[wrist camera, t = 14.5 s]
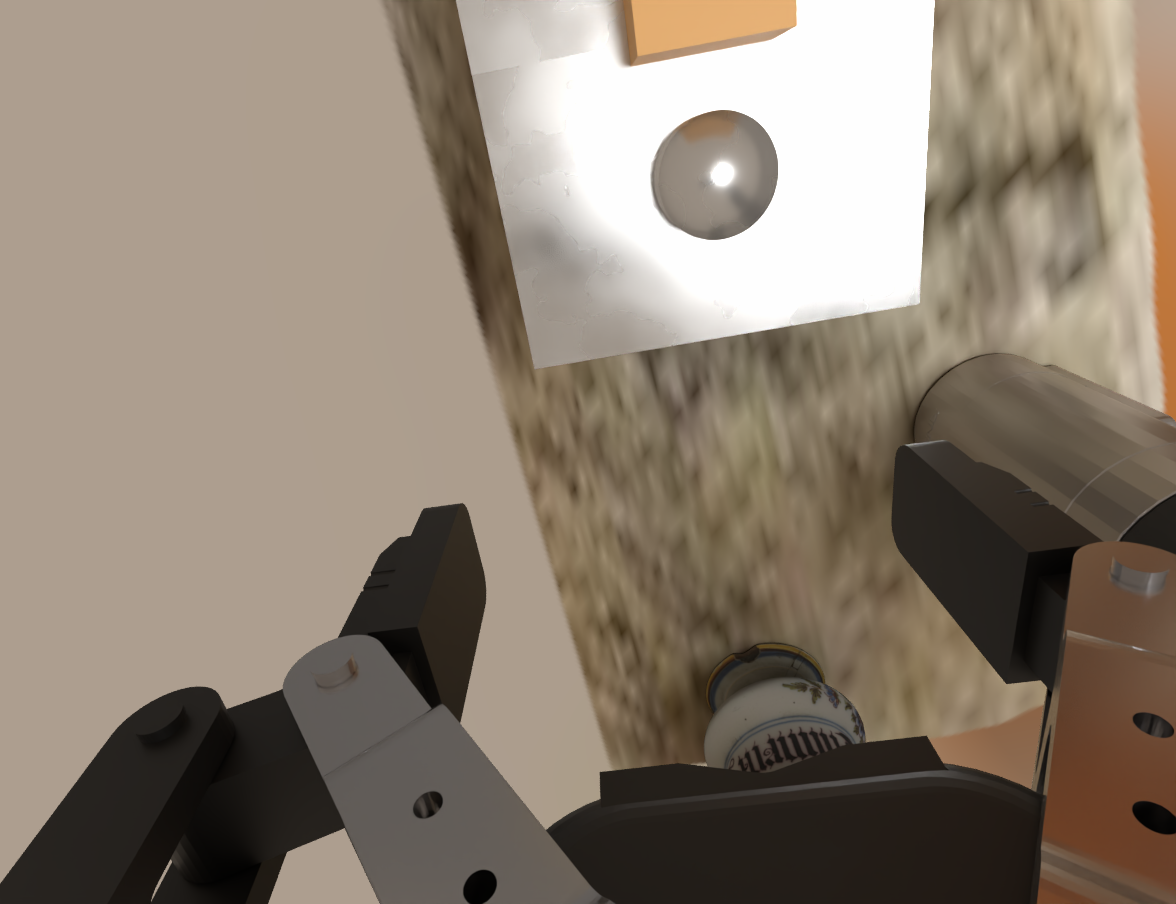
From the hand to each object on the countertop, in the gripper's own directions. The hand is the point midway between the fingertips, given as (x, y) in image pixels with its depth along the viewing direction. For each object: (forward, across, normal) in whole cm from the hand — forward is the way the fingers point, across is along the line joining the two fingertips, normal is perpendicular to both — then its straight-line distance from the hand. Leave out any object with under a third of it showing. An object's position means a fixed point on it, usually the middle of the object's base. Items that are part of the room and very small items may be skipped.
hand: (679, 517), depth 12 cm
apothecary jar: (+30, -8, +36) cm, 48 cm away
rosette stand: (+30, -4, -8) cm, 31 cm away
